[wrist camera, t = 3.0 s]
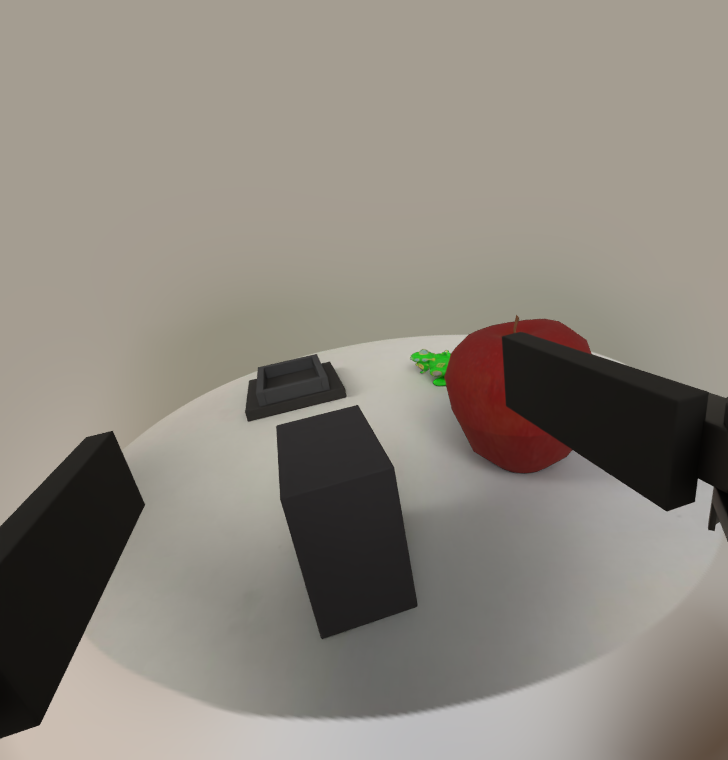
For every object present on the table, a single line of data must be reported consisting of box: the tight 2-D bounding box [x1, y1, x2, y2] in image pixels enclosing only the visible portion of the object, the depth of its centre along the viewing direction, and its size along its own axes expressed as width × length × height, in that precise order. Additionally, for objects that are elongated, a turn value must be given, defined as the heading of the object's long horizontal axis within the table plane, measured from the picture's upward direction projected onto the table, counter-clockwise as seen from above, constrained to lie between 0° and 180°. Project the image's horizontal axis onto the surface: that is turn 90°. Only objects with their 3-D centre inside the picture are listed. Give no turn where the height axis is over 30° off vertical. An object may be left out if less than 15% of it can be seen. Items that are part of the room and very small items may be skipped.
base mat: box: [245, 354, 346, 421], centre depth 62 cm, size 14×14×4 cm
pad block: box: [276, 405, 417, 639], centre depth 26 cm, size 6×9×10 cm, turn 13°
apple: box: [444, 315, 591, 473], centre depth 34 cm, size 12×12×13 cm
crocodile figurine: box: [410, 349, 451, 386], centre depth 55 cm, size 7×18×4 cm, turn 45°
